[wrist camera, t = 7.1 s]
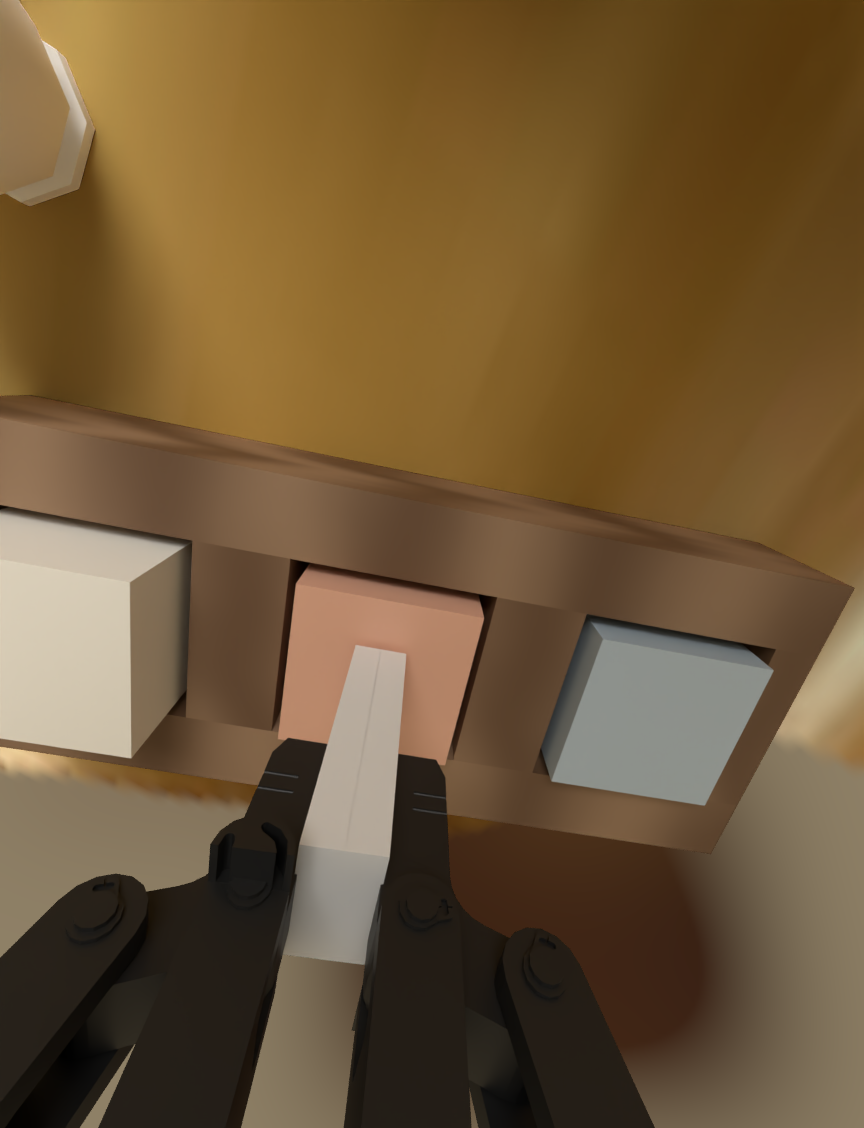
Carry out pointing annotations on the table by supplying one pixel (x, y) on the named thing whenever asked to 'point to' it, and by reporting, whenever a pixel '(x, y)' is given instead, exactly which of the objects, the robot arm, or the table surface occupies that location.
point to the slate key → (651, 710)
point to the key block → (424, 555)
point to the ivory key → (90, 631)
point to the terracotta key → (383, 621)
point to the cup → (38, 114)
